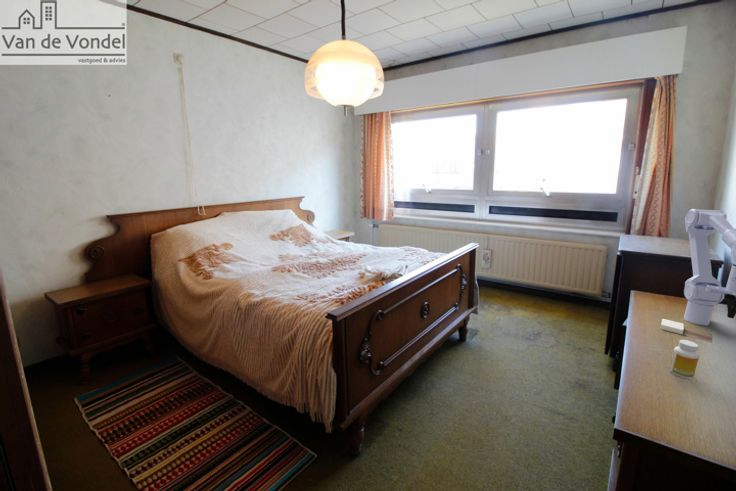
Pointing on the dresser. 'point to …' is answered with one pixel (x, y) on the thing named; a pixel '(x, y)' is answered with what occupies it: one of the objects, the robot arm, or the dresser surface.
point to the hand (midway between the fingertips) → (730, 317)
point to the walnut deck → (698, 335)
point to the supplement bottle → (684, 359)
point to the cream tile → (672, 326)
